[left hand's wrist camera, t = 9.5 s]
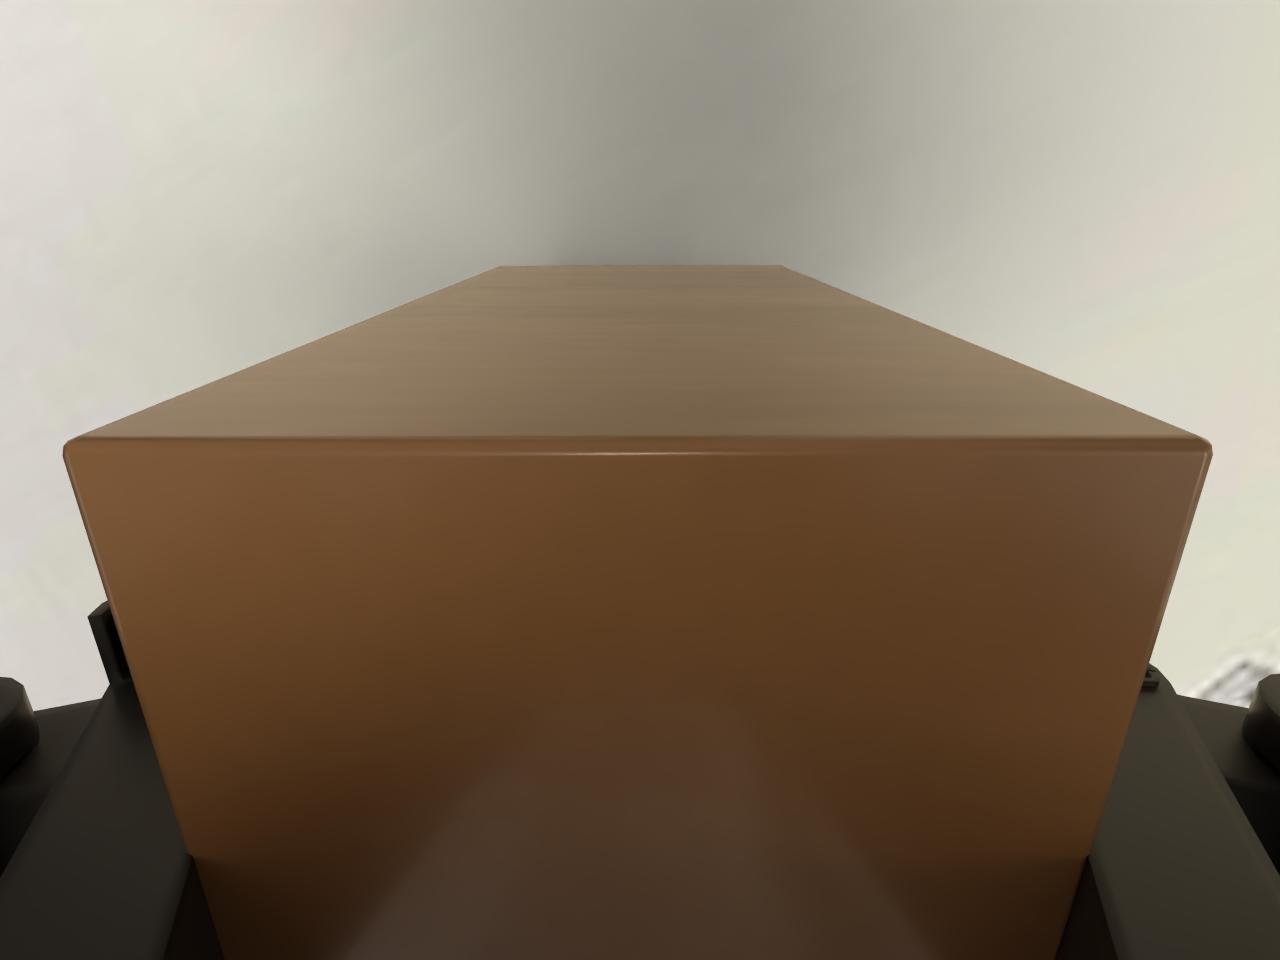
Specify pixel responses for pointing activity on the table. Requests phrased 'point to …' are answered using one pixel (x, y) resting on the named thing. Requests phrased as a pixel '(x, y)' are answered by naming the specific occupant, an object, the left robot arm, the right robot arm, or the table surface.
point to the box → (638, 625)
